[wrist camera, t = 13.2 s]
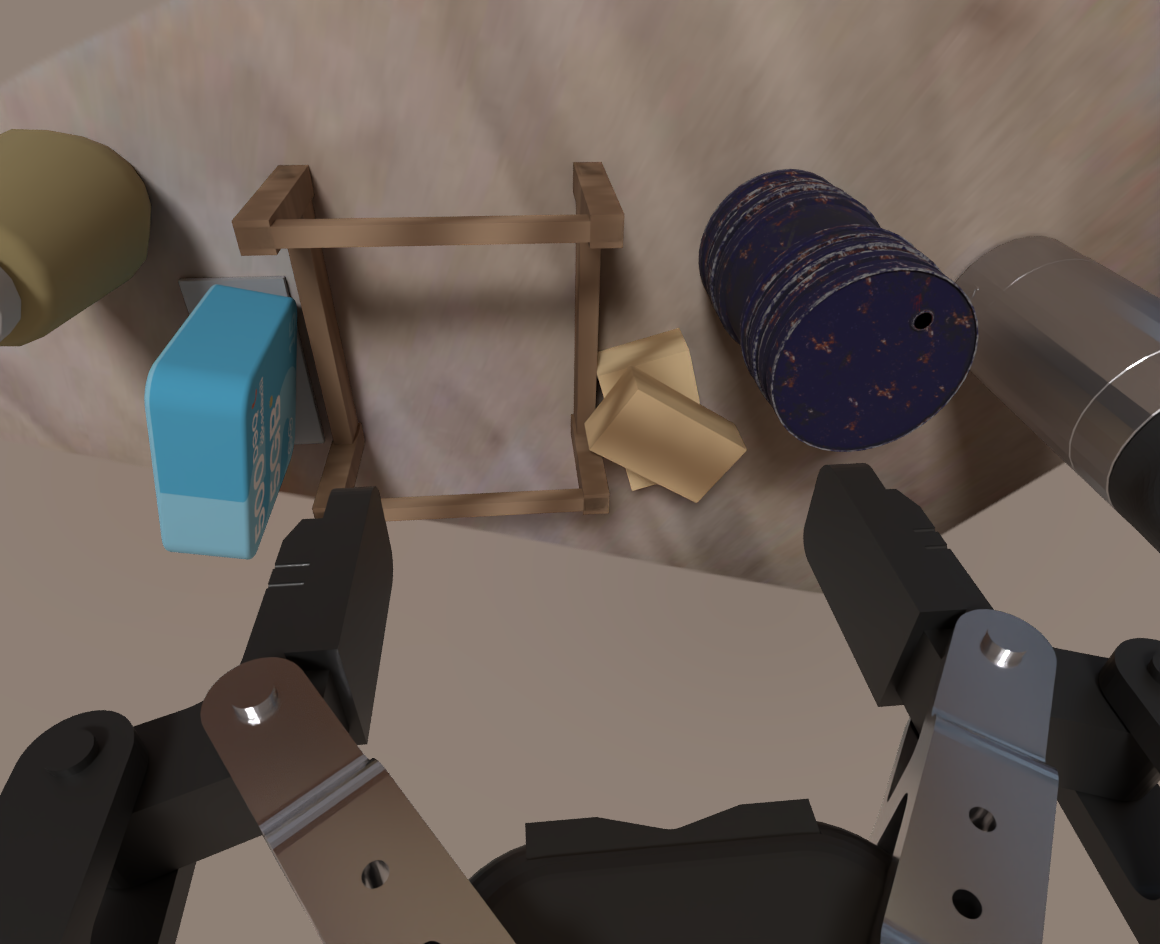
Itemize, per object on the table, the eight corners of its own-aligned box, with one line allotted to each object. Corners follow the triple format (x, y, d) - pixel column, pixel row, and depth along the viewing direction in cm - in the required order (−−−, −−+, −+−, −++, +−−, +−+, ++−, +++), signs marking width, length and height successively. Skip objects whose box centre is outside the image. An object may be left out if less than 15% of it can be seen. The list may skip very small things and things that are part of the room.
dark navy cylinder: (771, 347, 49) (858, 483, 38) (664, 270, 45) (724, 395, 34) (885, 228, 45) (1024, 340, 33) (777, 130, 41) (892, 218, 29)
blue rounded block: (295, 448, 50) (250, 572, 41) (226, 439, 49) (163, 563, 40) (298, 288, 43) (245, 393, 34) (217, 274, 42) (138, 378, 33)
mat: (284, 276, 43) (283, 278, 43) (325, 439, 50) (324, 443, 50) (180, 278, 43) (178, 281, 42) (236, 443, 50) (234, 446, 50)
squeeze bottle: (195, 173, 39) (29, 321, 25) (147, 289, 43) (-23, 475, 29) (28, 75, 36) (-274, 183, 22) (-9, 210, 39) (-289, 378, 25)
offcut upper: (630, 364, 46) (638, 389, 43) (734, 424, 49) (747, 449, 47) (584, 423, 48) (589, 449, 46) (687, 476, 52) (696, 503, 49)
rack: (601, 162, 41) (624, 214, 34) (592, 432, 52) (608, 513, 45) (278, 165, 39) (231, 220, 32) (341, 442, 51) (317, 528, 44)
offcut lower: (677, 325, 48) (688, 349, 45) (701, 440, 54) (713, 468, 52) (591, 350, 49) (597, 376, 46) (625, 461, 55) (632, 490, 52)
